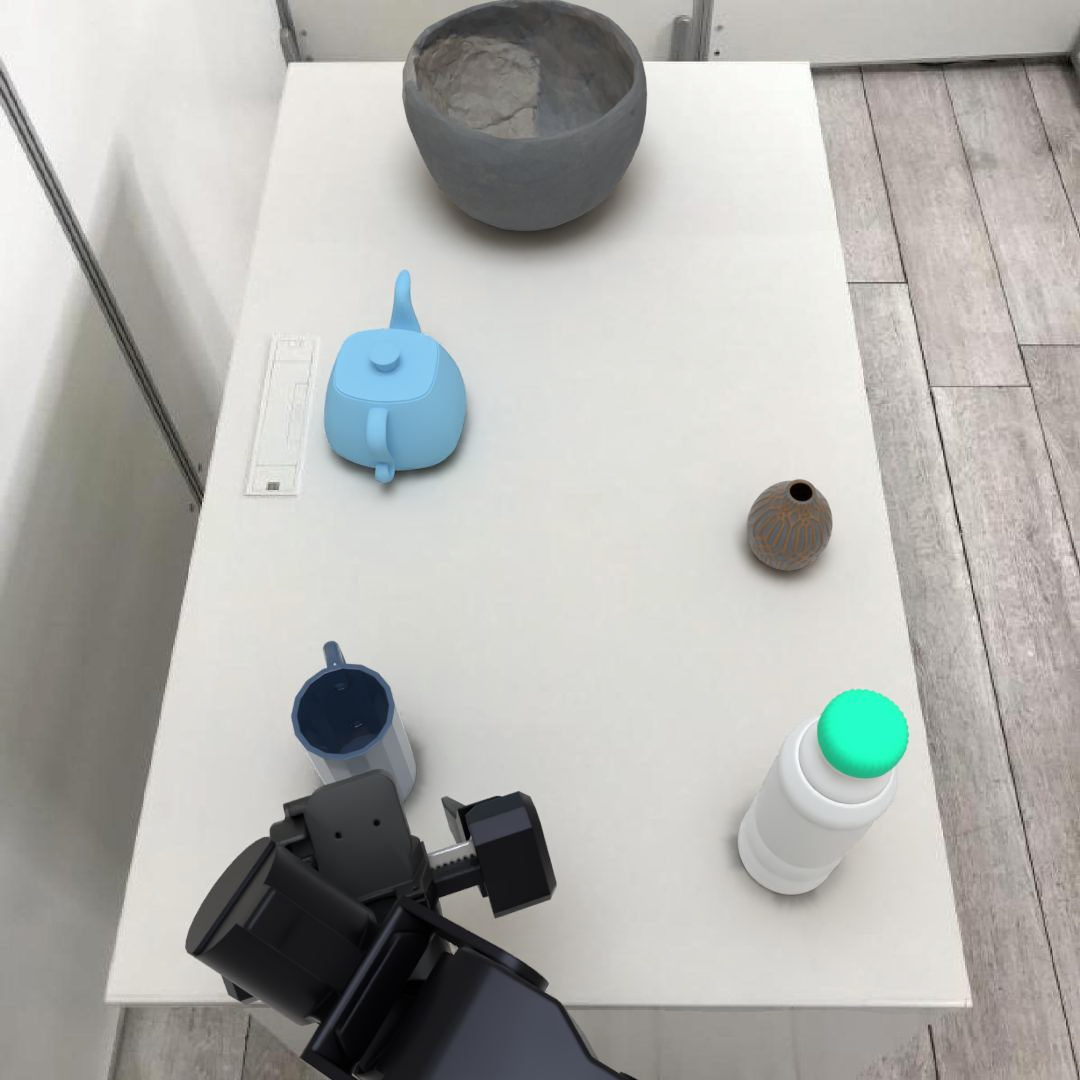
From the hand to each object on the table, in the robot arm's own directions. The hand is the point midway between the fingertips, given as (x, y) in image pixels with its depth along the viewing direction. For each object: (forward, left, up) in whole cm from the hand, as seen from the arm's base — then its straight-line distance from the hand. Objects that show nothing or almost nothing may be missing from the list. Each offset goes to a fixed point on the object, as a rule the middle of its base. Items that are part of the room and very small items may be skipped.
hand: (375, 826), depth 67 cm
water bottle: (-1, -28, -13) cm, 31 cm away
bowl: (+72, -17, -13) cm, 75 cm away
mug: (+9, +2, -13) cm, 16 cm away
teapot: (+42, -2, -13) cm, 44 cm away
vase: (+24, -34, -13) cm, 44 cm away
